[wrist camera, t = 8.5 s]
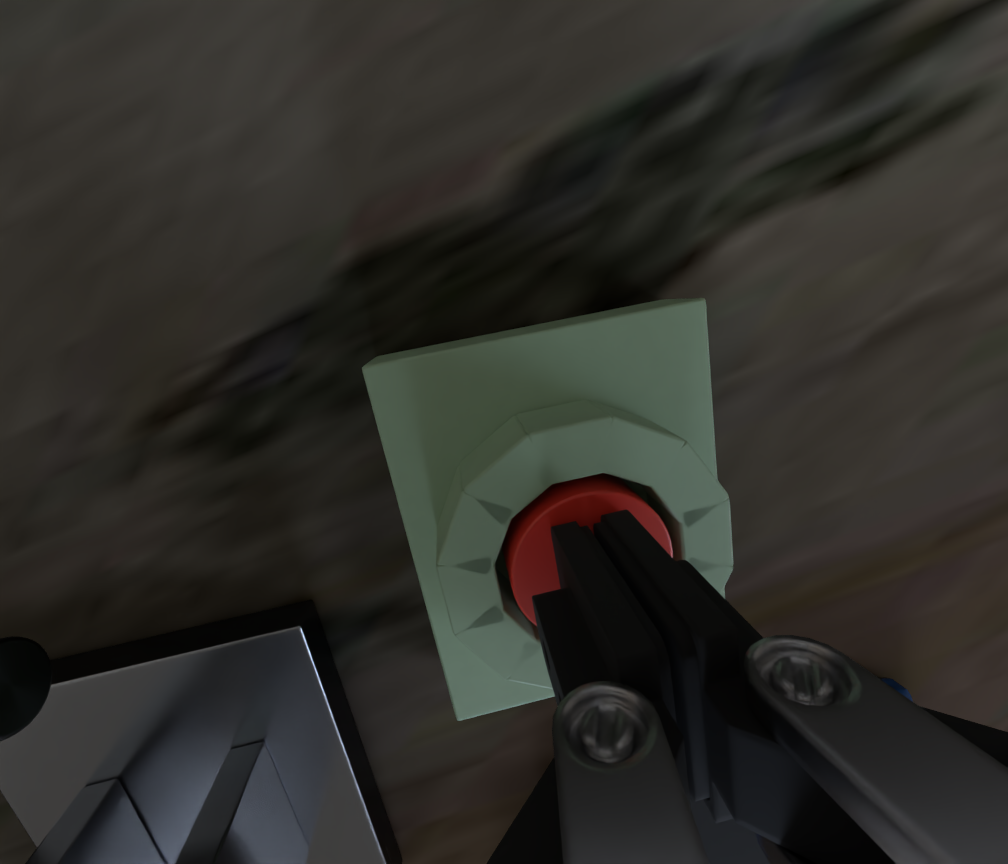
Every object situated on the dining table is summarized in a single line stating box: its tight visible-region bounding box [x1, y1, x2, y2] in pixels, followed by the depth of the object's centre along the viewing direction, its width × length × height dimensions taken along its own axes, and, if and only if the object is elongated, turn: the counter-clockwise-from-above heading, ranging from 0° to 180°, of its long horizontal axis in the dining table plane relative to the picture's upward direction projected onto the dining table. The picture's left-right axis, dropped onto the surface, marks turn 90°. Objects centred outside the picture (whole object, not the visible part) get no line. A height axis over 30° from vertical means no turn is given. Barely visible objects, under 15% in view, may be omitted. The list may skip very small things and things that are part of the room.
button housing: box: [362, 298, 733, 721], centre depth 12 cm, size 10×8×4 cm
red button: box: [502, 473, 673, 626], centre depth 11 cm, size 4×4×2 cm
